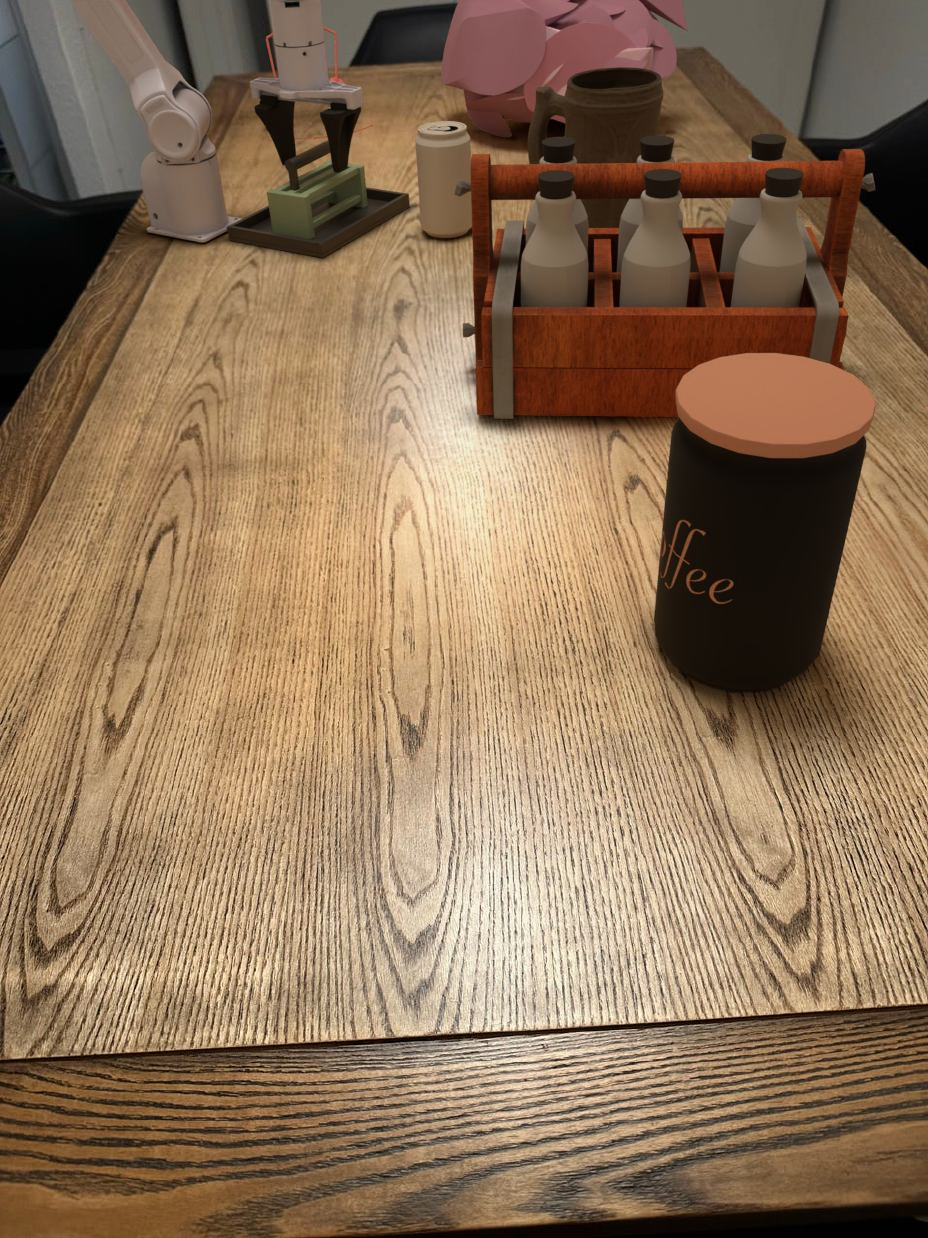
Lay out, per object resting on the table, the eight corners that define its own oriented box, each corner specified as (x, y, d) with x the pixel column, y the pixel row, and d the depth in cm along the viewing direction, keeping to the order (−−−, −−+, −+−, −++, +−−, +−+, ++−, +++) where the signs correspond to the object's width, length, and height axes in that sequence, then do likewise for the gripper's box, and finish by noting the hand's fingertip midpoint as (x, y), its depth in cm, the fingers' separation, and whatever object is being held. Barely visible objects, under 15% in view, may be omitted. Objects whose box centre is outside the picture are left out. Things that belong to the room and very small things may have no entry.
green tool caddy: (272, 233, 131) (261, 160, 126) (331, 200, 140) (323, 131, 134) (310, 239, 129) (300, 166, 124) (368, 205, 138) (361, 135, 132)
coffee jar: (636, 600, 74) (656, 358, 62) (789, 587, 74) (835, 345, 63) (673, 707, 66) (703, 452, 54) (844, 692, 66) (909, 435, 55)
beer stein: (673, 256, 122) (677, 61, 109) (644, 292, 114) (645, 87, 102) (547, 249, 128) (537, 64, 115) (512, 283, 120) (497, 88, 108)
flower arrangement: (653, 139, 173) (678, -68, 160) (693, 150, 153) (724, -86, 140) (437, 129, 170) (444, -83, 157) (448, 139, 149) (456, -104, 136)
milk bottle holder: (471, 321, 110) (464, 120, 98) (820, 322, 107) (858, 114, 95) (451, 422, 94) (440, 197, 82) (861, 427, 91) (914, 193, 79)
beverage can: (467, 241, 128) (464, 134, 120) (415, 239, 129) (408, 133, 121) (478, 222, 133) (475, 119, 125) (427, 220, 134) (421, 118, 126)
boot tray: (228, 240, 131) (226, 226, 130) (320, 192, 144) (318, 179, 143) (323, 258, 126) (321, 243, 124) (409, 206, 138) (408, 193, 137)
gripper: (226, 45, 122) (246, 169, 131) (333, 54, 116) (346, 183, 125) (263, 32, 127) (280, 152, 135) (367, 40, 121) (378, 165, 130)
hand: (314, 166), depth 130 cm, fingers open, 7 cm apart
